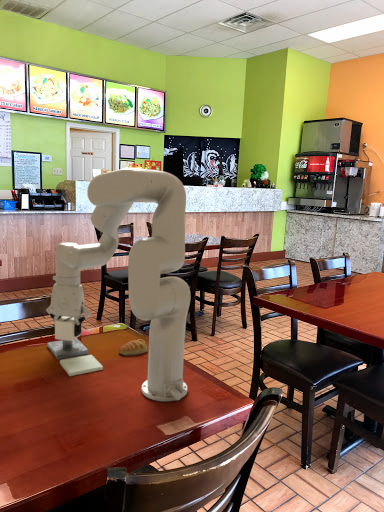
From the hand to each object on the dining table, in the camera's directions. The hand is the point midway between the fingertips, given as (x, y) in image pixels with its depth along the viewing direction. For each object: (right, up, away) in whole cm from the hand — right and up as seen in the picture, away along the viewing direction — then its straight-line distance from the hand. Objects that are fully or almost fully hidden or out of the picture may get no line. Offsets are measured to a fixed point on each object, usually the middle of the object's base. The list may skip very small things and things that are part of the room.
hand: (68, 333), depth 134 cm
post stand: (0, -6, +1) cm, 6 cm away
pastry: (+21, -7, +3) cm, 23 cm away
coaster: (+7, -8, -11) cm, 15 cm away
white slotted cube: (0, -1, 0) cm, 1 cm away
